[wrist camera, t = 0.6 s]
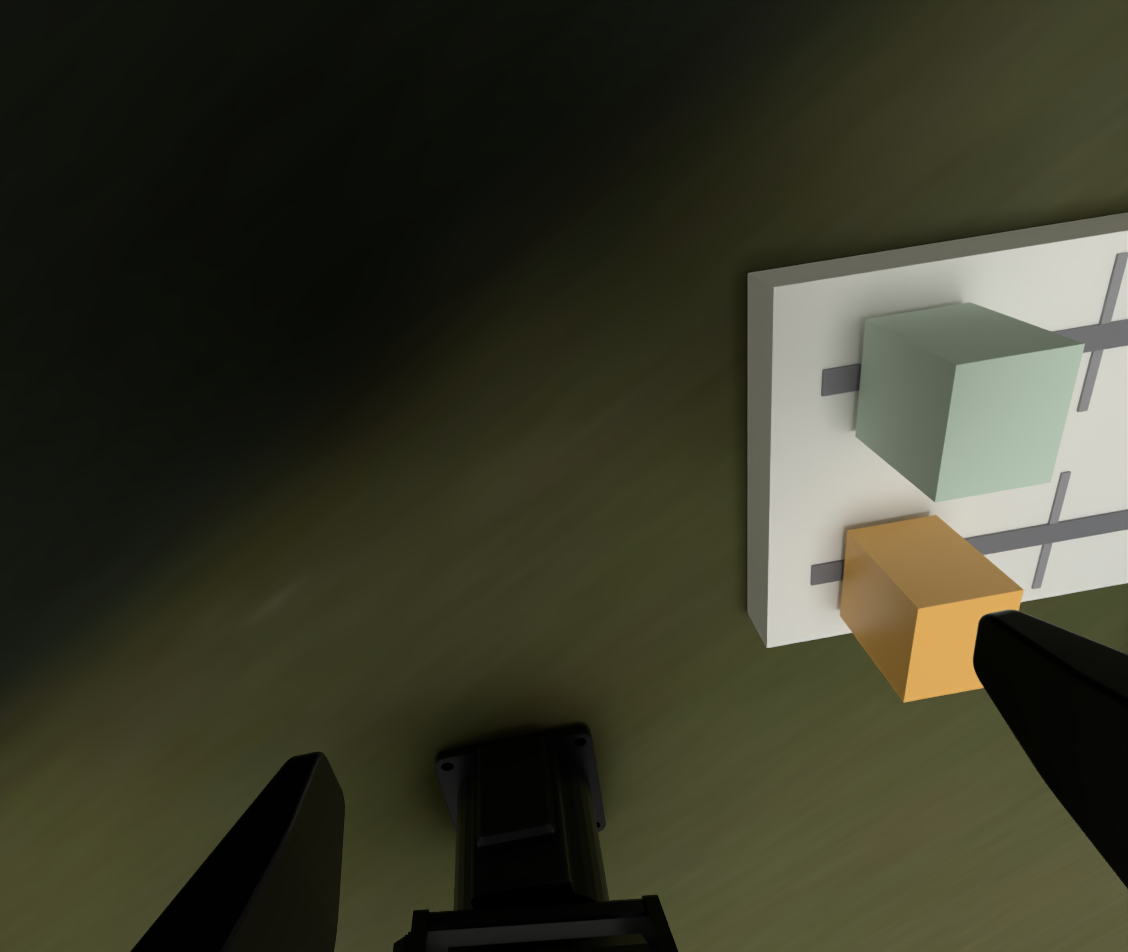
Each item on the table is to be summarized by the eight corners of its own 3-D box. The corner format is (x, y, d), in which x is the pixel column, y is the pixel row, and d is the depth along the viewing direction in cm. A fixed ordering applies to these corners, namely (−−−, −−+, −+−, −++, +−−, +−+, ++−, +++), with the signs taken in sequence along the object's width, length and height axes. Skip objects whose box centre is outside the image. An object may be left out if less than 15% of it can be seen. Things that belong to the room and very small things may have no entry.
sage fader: (950, 420, 20) (1050, 482, 17) (855, 436, 20) (934, 502, 17) (970, 302, 19) (1085, 343, 15) (865, 319, 18) (956, 364, 15)
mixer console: (1235, 525, 27) (1291, 555, 25) (747, 612, 26) (767, 650, 24) (1382, 171, 20) (1472, 176, 19) (747, 272, 20) (775, 288, 18)
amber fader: (922, 601, 24) (1000, 684, 20) (839, 615, 23) (903, 702, 20) (936, 514, 22) (1023, 589, 18) (847, 530, 22) (918, 609, 18)
